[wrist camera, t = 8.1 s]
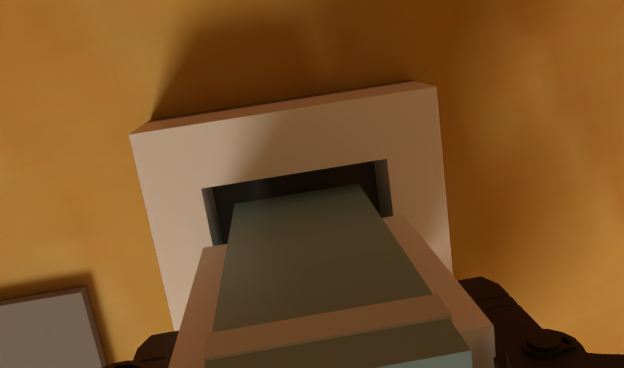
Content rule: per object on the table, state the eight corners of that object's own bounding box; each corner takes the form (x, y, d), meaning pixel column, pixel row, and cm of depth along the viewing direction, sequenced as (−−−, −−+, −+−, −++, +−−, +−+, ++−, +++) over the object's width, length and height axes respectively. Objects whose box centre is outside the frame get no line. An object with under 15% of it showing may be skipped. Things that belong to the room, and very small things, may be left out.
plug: (232, 202, 18) (196, 396, 8) (359, 182, 18) (474, 347, 8) (254, 318, 19) (245, 613, 9) (374, 297, 19) (491, 564, 9)
